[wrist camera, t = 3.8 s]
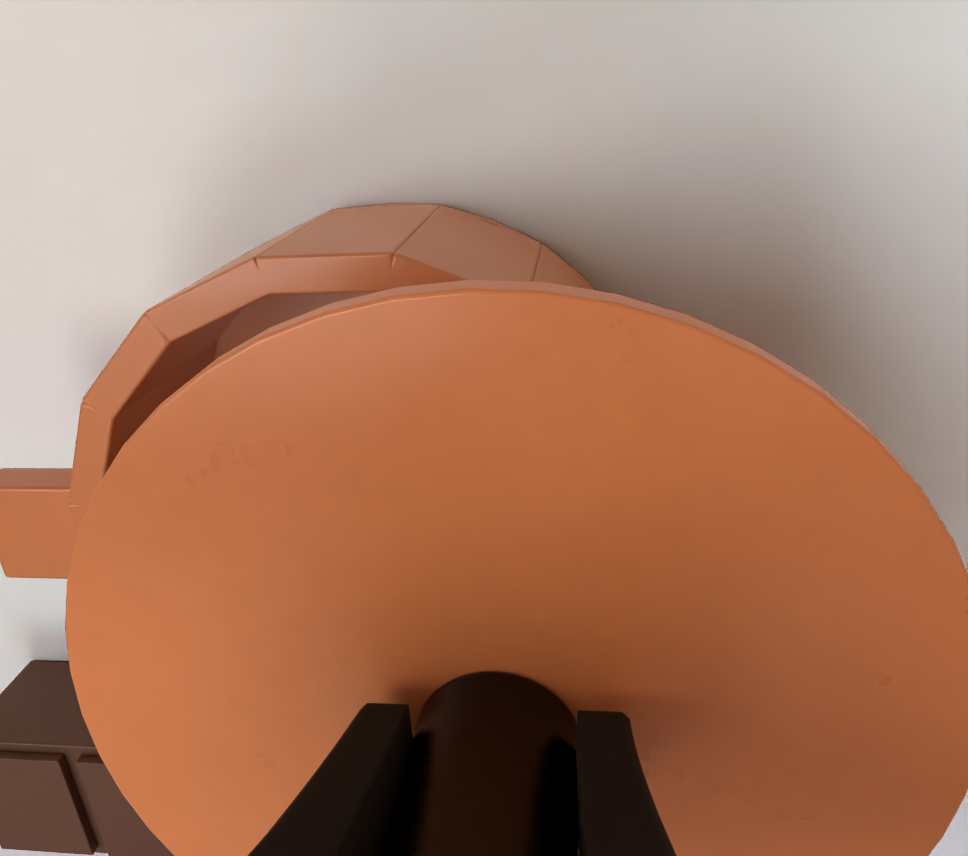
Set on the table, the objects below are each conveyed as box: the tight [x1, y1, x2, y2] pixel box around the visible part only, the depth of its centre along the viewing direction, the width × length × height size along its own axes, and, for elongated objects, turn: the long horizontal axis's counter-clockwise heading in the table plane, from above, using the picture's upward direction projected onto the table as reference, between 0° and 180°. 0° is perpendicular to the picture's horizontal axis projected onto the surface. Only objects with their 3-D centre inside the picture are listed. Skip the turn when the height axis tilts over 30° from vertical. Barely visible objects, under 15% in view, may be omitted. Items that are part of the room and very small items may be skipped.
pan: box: [0, 203, 595, 579], centre depth 19 cm, size 12×18×5 cm
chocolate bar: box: [0, 661, 174, 856], centre depth 25 cm, size 4×7×4 cm, turn 93°
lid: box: [65, 280, 968, 856], centre depth 11 cm, size 13×13×4 cm
